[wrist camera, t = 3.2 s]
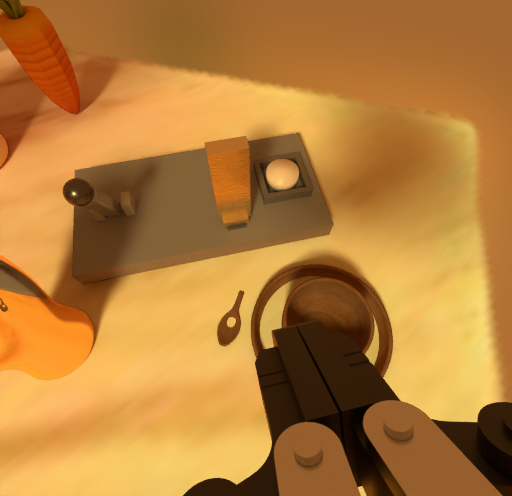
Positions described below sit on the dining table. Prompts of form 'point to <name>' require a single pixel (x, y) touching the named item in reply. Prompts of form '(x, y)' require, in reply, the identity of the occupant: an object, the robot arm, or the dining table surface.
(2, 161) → the milk bottle
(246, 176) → the block
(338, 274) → the place setting
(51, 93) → the carrot
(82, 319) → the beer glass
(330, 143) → the dining table surface
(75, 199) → the toggle lever
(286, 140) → the switch panel
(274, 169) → the push button
